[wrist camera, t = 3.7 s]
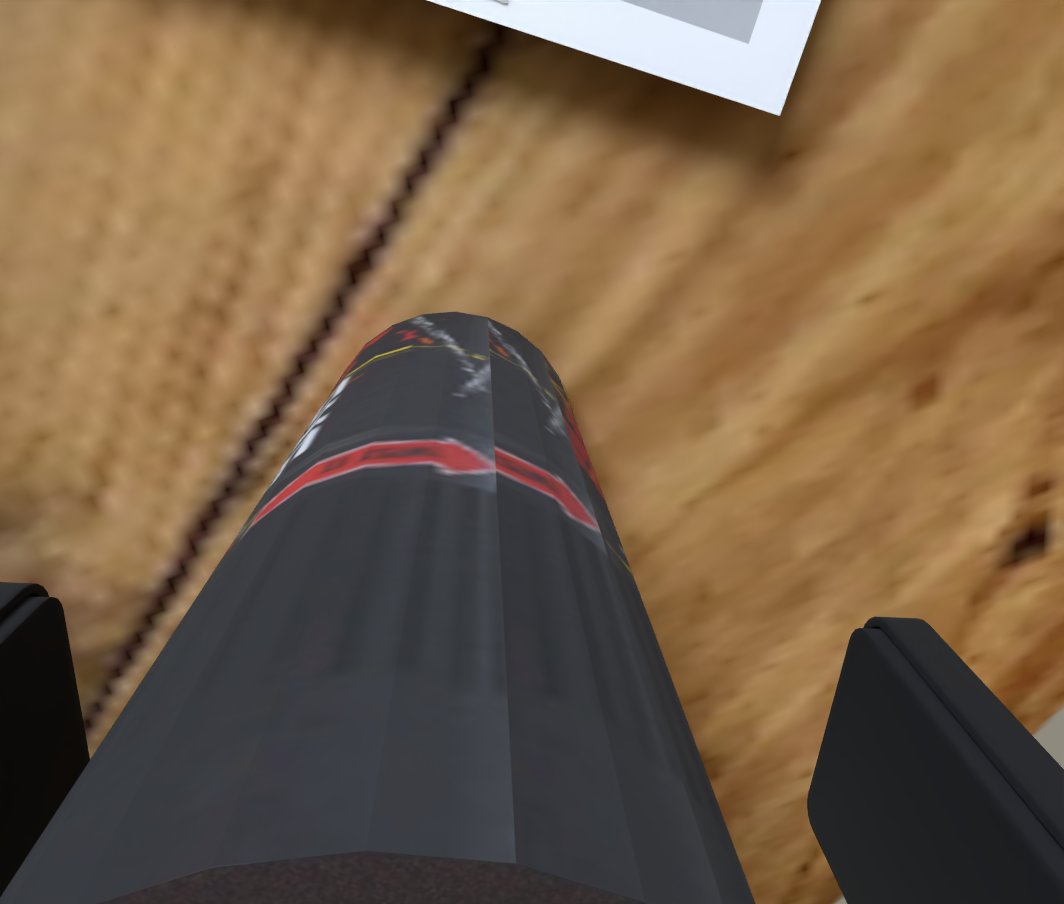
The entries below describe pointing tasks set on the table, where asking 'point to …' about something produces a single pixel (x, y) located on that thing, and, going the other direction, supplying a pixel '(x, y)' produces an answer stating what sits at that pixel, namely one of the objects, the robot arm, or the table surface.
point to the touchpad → (675, 38)
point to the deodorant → (407, 676)
